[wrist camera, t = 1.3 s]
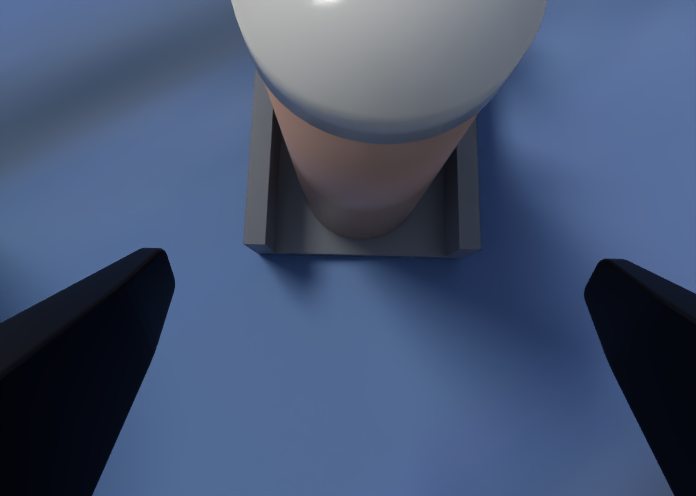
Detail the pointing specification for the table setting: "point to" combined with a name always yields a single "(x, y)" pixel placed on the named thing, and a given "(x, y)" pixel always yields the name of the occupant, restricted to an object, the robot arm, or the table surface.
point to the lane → (315, 239)
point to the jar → (380, 92)
